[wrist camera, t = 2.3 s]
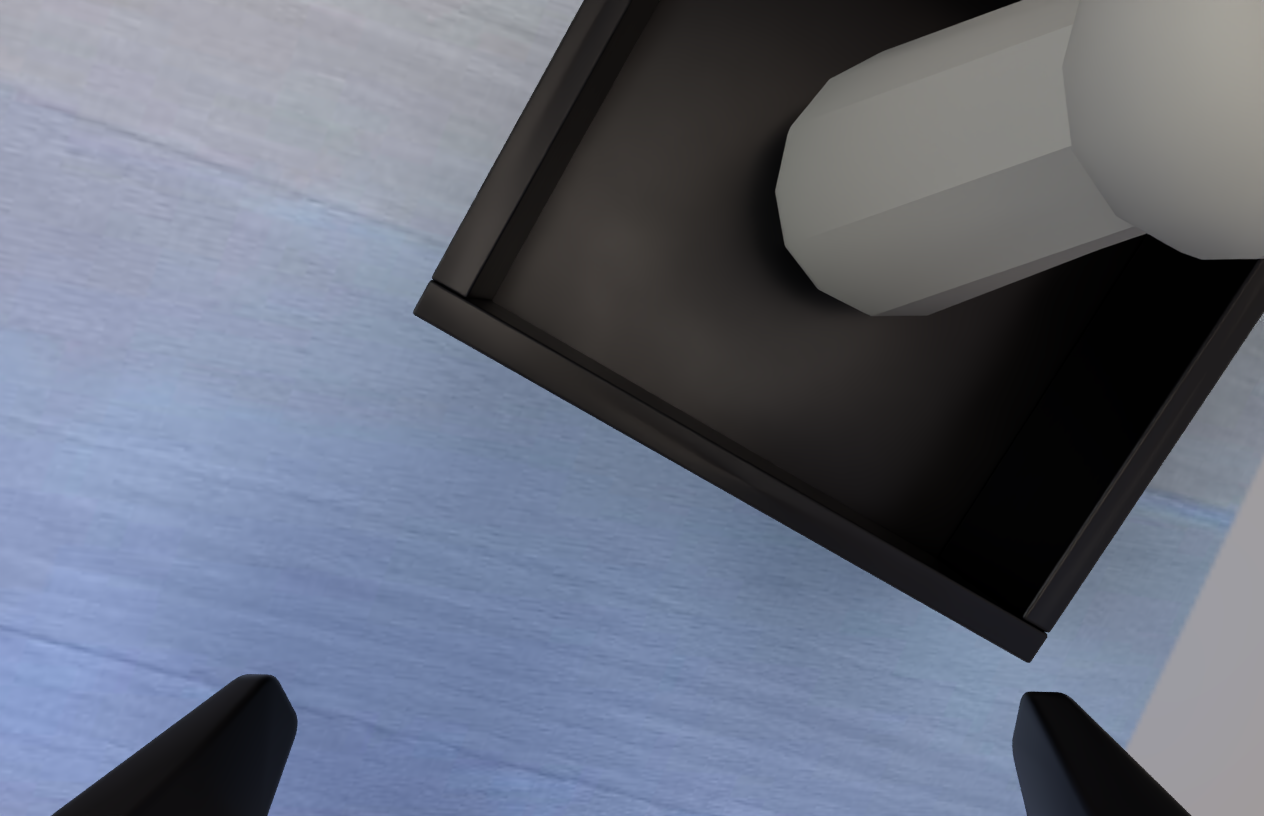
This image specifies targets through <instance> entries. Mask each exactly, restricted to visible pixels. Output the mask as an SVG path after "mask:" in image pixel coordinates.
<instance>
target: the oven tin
mask: <svg viewBox="0 0 1264 816" xmlns="http://www.w3.org/2000/svg"><path fill="white" fill-rule="evenodd" d="M1019 1H1022V0H584V1H583V3H582V5H581V6H580V8H579V10H578V12H577V14H576V16H575V17H574V19H573V21H572V23H571V25H570V26H569V28H568V30H567V32H566V34H565V36H564V37H563V39H562V41H561V43H560V45H559V46H558V48H557V50H556V52H555V54H554V56H553V57H552V59H551V61H550V63H549V65H548V67H547V68H546V70H545V72H544V74H543V76H542V77H541V79H540V81H539V83H538V85H537V87H536V88H535V90H534V92H533V94H532V96H531V97H530V99H529V101H528V103H527V105H526V107H525V108H524V110H523V112H522V114H521V116H520V117H519V119H518V121H517V123H516V125H515V127H514V128H513V130H512V132H511V134H510V136H509V137H508V139H507V141H506V143H505V145H504V147H503V148H502V150H501V152H500V154H499V156H498V157H497V159H496V161H495V163H494V165H493V167H492V168H491V170H490V172H489V174H488V176H487V178H486V179H485V181H484V183H483V185H482V187H481V188H480V190H479V192H478V194H477V196H476V198H475V199H474V201H473V203H472V205H471V207H470V208H469V210H468V212H467V214H466V216H465V218H464V219H463V221H462V223H461V225H460V227H459V228H458V230H457V232H456V234H455V236H454V238H453V239H452V241H451V243H450V245H449V247H448V248H447V250H446V252H445V254H444V256H443V258H442V259H441V261H440V263H439V265H438V267H437V268H436V270H435V272H434V274H433V276H432V279H433V280H431V281H430V282H429V283H428V285H427V287H426V289H425V291H424V292H423V294H422V296H421V298H420V300H419V301H418V303H417V305H416V307H415V309H414V311H413V314H414V315H415V316H417V317H419V318H421V319H422V320H424V321H426V322H428V323H429V324H431V325H433V326H435V327H436V328H438V329H440V330H442V331H443V332H445V333H447V334H449V335H450V336H452V337H454V338H456V339H458V340H459V341H461V342H463V343H465V344H466V345H468V346H470V347H472V348H473V349H475V350H477V351H479V352H480V353H482V354H484V355H486V356H487V357H489V358H491V359H493V360H495V361H496V362H498V363H500V364H502V365H503V366H505V367H507V368H509V369H510V370H512V371H514V372H516V373H517V374H519V375H521V376H523V377H525V378H526V379H528V380H530V381H532V382H533V383H535V384H537V385H539V386H540V387H542V388H544V389H546V390H547V391H549V392H551V393H553V394H554V395H556V396H558V397H560V398H562V399H563V400H565V401H567V402H569V403H570V404H572V405H574V406H576V407H577V408H579V409H581V410H583V411H584V412H586V413H588V414H590V415H591V416H593V417H595V418H597V419H599V420H600V421H602V422H604V423H606V424H607V425H609V426H611V427H613V428H614V429H616V430H618V431H620V432H621V433H623V434H625V435H627V436H628V437H630V438H632V439H634V440H636V441H637V442H639V443H641V444H643V445H644V446H646V447H648V448H650V449H651V450H653V451H655V452H657V453H658V454H660V455H662V456H664V457H665V458H667V459H669V460H671V461H673V462H674V463H676V464H678V465H680V466H681V467H683V468H685V469H687V470H688V471H690V472H692V473H694V474H695V475H697V476H699V477H701V478H702V479H704V480H706V481H708V482H710V483H711V484H713V485H715V486H717V487H718V488H720V489H722V490H724V491H725V492H727V493H729V494H731V495H732V496H734V497H736V498H738V499H740V500H741V501H743V502H745V503H747V504H748V505H750V506H752V507H754V508H755V509H757V510H759V511H761V512H762V513H764V514H766V515H768V516H769V517H771V518H773V519H775V520H777V521H778V522H780V523H782V524H784V525H785V526H787V527H789V528H791V529H792V530H794V531H796V532H798V533H799V534H801V535H803V536H805V537H806V538H808V539H810V540H812V541H814V542H815V543H817V544H819V545H821V546H822V547H824V548H826V549H828V550H829V551H831V552H833V553H835V554H836V555H838V556H840V557H842V558H843V559H845V560H847V561H849V562H851V563H852V564H854V565H856V566H858V567H859V568H861V569H863V570H865V571H866V572H868V573H870V574H872V575H873V576H875V577H877V578H879V579H880V580H882V581H884V582H886V583H888V584H889V585H891V586H893V587H895V588H896V589H898V590H900V591H902V592H903V593H905V594H907V595H909V596H910V597H912V598H914V599H916V600H917V601H919V602H921V603H923V604H925V605H926V606H928V607H930V608H932V609H933V610H935V611H937V612H939V613H940V614H942V615H944V616H946V617H947V618H949V619H951V620H953V621H955V622H956V623H958V624H960V625H962V626H963V627H965V628H967V629H969V630H970V631H972V632H974V633H976V634H977V635H979V636H981V637H983V638H984V639H986V640H988V641H990V642H992V643H993V644H995V645H997V646H999V647H1000V648H1002V649H1004V650H1006V651H1007V652H1009V653H1011V654H1013V655H1014V656H1016V657H1018V658H1020V659H1021V660H1023V661H1025V662H1028V663H1030V662H1031V661H1032V659H1033V658H1034V656H1035V655H1036V653H1037V652H1038V650H1039V649H1040V647H1041V646H1042V644H1043V643H1044V641H1045V640H1046V638H1047V634H1046V633H1045V632H1050V631H1051V630H1052V628H1053V627H1054V625H1055V624H1056V622H1057V621H1058V619H1059V618H1060V616H1061V615H1062V613H1063V612H1064V610H1065V609H1066V607H1067V606H1068V604H1069V603H1070V601H1071V600H1072V598H1073V597H1074V595H1075V594H1076V592H1077V591H1078V589H1079V588H1080V586H1081V585H1082V583H1083V582H1084V580H1085V579H1086V577H1087V576H1088V574H1089V573H1090V571H1091V570H1092V568H1093V567H1094V565H1095V564H1096V562H1097V561H1098V559H1099V558H1100V556H1101V555H1102V553H1103V552H1104V550H1105V549H1106V547H1107V546H1108V544H1109V543H1110V541H1111V540H1112V538H1113V537H1114V535H1115V534H1116V532H1117V531H1118V529H1119V528H1120V526H1121V525H1122V523H1123V522H1124V520H1125V519H1126V517H1127V516H1128V514H1129V513H1130V511H1131V510H1132V508H1133V507H1134V505H1135V504H1136V502H1137V501H1138V499H1139V498H1140V496H1141V495H1142V493H1143V492H1144V490H1145V489H1146V487H1147V486H1148V484H1149V483H1150V481H1151V480H1152V478H1153V477H1154V475H1155V474H1156V472H1157V471H1158V469H1159V468H1160V466H1161V465H1162V463H1163V462H1164V460H1165V459H1166V457H1167V456H1168V454H1169V453H1170V452H1171V450H1172V449H1173V447H1174V446H1175V444H1176V443H1177V441H1178V440H1179V438H1180V437H1181V435H1182V434H1183V432H1184V431H1185V429H1186V428H1187V426H1188V425H1189V423H1190V422H1191V420H1192V419H1193V417H1194V416H1195V414H1196V413H1197V411H1198V410H1199V408H1200V407H1201V405H1202V404H1203V402H1204V401H1205V399H1206V398H1207V396H1208V395H1209V393H1210V392H1211V390H1212V389H1213V387H1214V386H1215V384H1216V383H1217V381H1218V380H1219V378H1220V377H1221V375H1222V374H1223V372H1224V371H1225V369H1226V368H1227V366H1228V365H1229V363H1230V362H1231V360H1232V359H1233V357H1234V356H1235V354H1236V353H1237V351H1238V350H1239V348H1240V347H1241V345H1242V344H1243V342H1244V341H1245V339H1246V338H1247V336H1248V335H1249V333H1250V332H1251V330H1252V329H1253V327H1254V326H1255V324H1256V323H1257V321H1258V320H1259V318H1260V317H1261V315H1262V314H1263V312H1264V259H1207V260H1201V259H1198V258H1196V257H1193V256H1190V255H1187V254H1184V253H1181V252H1179V251H1178V250H1176V249H1174V248H1172V247H1170V246H1169V245H1167V244H1165V243H1163V242H1162V241H1160V240H1158V239H1156V238H1154V237H1153V236H1151V235H1149V234H1147V233H1146V234H1143V235H1140V236H1137V237H1134V238H1131V239H1128V240H1126V241H1123V242H1120V243H1117V244H1114V245H1111V246H1108V247H1105V248H1102V249H1099V250H1097V251H1094V252H1091V253H1089V254H1086V255H1084V256H1081V257H1078V258H1076V259H1073V260H1071V261H1068V262H1065V263H1063V264H1060V265H1058V266H1055V267H1052V268H1050V269H1047V270H1045V271H1042V272H1039V273H1037V274H1034V275H1032V276H1029V277H1026V278H1024V279H1021V280H1019V281H1016V282H1013V283H1011V284H1008V285H1006V286H1003V287H1000V288H998V289H995V290H993V291H990V292H987V293H985V294H982V295H979V296H977V297H974V298H972V299H969V300H966V301H964V302H961V303H959V304H956V305H953V306H951V307H948V308H946V309H943V310H940V311H938V312H935V313H933V314H930V315H927V316H870V315H868V314H866V313H863V312H861V311H859V310H858V309H856V308H854V307H852V306H850V305H848V304H846V303H844V302H842V301H840V300H838V299H836V298H834V297H832V296H830V295H828V294H826V293H824V292H822V291H820V290H818V289H817V287H816V286H815V285H814V284H813V282H812V281H811V280H810V278H809V277H808V276H807V274H806V273H805V272H804V270H803V269H802V268H801V267H800V265H799V264H798V263H797V261H796V260H795V259H794V257H793V256H792V255H791V253H790V252H789V251H788V250H787V248H786V247H785V244H784V239H783V233H782V228H781V222H780V216H779V211H778V205H777V199H776V194H775V189H776V185H777V180H778V175H779V171H780V166H781V162H782V157H783V153H784V148H785V144H786V139H787V134H788V132H789V130H790V127H791V126H792V124H793V123H794V122H795V121H796V119H797V118H798V117H799V116H800V115H801V113H802V112H803V111H804V110H805V109H806V107H807V106H808V105H809V104H810V102H811V101H812V100H813V99H814V98H815V96H816V95H817V94H818V93H819V91H820V90H821V89H822V88H823V87H824V85H825V84H826V83H827V82H828V80H829V79H831V78H833V77H835V76H837V75H839V74H840V73H842V72H844V71H846V70H848V69H850V68H852V67H854V66H856V65H858V64H860V63H861V62H863V61H865V60H867V59H869V58H871V57H873V56H875V55H877V54H879V53H881V52H882V51H885V50H888V49H891V48H893V47H896V46H899V45H902V44H904V43H907V42H910V41H913V40H915V39H918V38H921V37H923V36H926V35H929V34H932V33H934V32H937V31H940V30H943V29H945V28H948V27H951V26H953V25H956V24H959V23H962V22H964V21H967V20H970V19H973V18H975V17H978V16H981V15H983V14H986V13H989V12H992V11H994V10H997V9H1000V8H1003V7H1005V6H1008V5H1011V4H1014V3H1016V2H1019Z"/></svg>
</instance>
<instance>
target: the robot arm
mask: <svg viewBox="0 0 1264 816" xmlns="http://www.w3.org/2000/svg"><path fill="white" fill-rule="evenodd" d="M296 731H297V715H296V713H295V711H294V709H293V707H292V705H291V703H290V701H289V699H288V697H287V696H286V694H285V692H284V690H283V688H282V686H281V684H280V683H279V681H278V680H277V678H276V677H274V676H272V675H265V674H246V675H242V676H240V677H238V678H236V679H235V680H233V681H232V682H230V683H229V684H228V685H226V686H225V687H224V688H222V689H221V690H220V691H218V692H217V693H216V694H214V695H213V696H211V697H210V698H209V699H207V700H206V701H205V702H203V703H202V704H201V705H199V706H198V707H197V708H195V709H194V710H193V711H191V712H190V713H189V714H187V715H186V716H185V717H183V718H182V719H180V720H179V721H178V722H176V723H175V724H174V725H172V726H171V727H170V728H168V729H167V730H166V731H164V732H163V733H162V734H160V735H159V736H158V737H156V738H155V739H154V740H152V741H151V742H150V743H148V744H147V745H145V746H144V747H143V748H141V749H140V750H139V751H137V752H136V753H135V754H133V755H132V756H131V757H129V758H128V759H127V760H125V761H124V762H123V763H121V764H120V765H119V766H117V767H116V768H114V769H113V770H112V771H110V772H109V773H108V774H106V775H105V776H104V777H102V778H101V779H100V780H98V781H97V782H96V783H94V784H93V785H92V786H90V787H89V788H88V789H86V790H85V791H84V792H82V793H81V794H79V795H78V796H77V797H75V798H74V799H73V800H71V801H70V802H69V803H67V804H66V805H65V806H63V807H62V808H61V809H59V810H58V811H57V812H55V813H54V814H53V815H51V816H267V815H268V812H269V809H270V807H271V804H272V801H273V798H274V795H275V792H276V790H277V787H278V784H279V781H280V778H281V775H282V773H283V770H284V767H285V764H286V761H287V758H288V756H289V753H290V750H291V747H292V744H293V741H294V739H295V735H296ZM1012 748H1013V757H1014V762H1015V767H1016V771H1017V775H1018V779H1019V783H1020V787H1021V792H1022V796H1023V800H1024V804H1025V808H1026V812H1027V816H1191V815H1190V814H1189V813H1188V812H1187V811H1186V810H1185V809H1184V808H1183V807H1182V806H1181V805H1180V804H1179V803H1178V802H1177V801H1176V800H1175V799H1174V798H1173V797H1172V796H1171V795H1170V794H1169V793H1168V792H1167V791H1166V790H1165V789H1164V788H1163V787H1162V786H1161V785H1160V784H1158V782H1157V781H1155V780H1154V779H1153V778H1152V777H1151V776H1150V775H1149V774H1148V773H1147V772H1146V771H1145V770H1144V769H1143V768H1142V767H1141V766H1140V765H1139V764H1138V763H1137V762H1136V761H1135V760H1134V759H1133V758H1132V757H1131V756H1130V755H1129V754H1128V753H1127V752H1126V751H1125V750H1124V749H1123V748H1122V747H1121V746H1120V745H1119V744H1118V743H1117V742H1116V741H1115V740H1114V739H1113V738H1112V737H1111V736H1110V735H1109V734H1108V733H1107V732H1106V731H1104V730H1103V729H1102V728H1101V727H1100V726H1099V725H1098V724H1097V723H1096V722H1095V721H1094V720H1093V719H1092V718H1091V717H1090V716H1089V715H1088V714H1087V713H1086V712H1085V711H1084V710H1083V709H1082V708H1081V707H1080V706H1079V705H1078V704H1077V703H1076V702H1075V701H1074V700H1073V699H1072V698H1070V697H1069V696H1067V695H1065V694H1063V693H1059V692H1026V693H1025V694H1024V695H1023V696H1022V698H1021V701H1020V706H1019V711H1018V715H1017V720H1016V725H1015V730H1014V734H1013V740H1012Z"/></svg>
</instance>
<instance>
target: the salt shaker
mask: <svg viewBox="0 0 1264 816" xmlns="http://www.w3.org/2000/svg"><path fill="white" fill-rule="evenodd" d="M775 194H776V199H777V205H778V211H779V216H780V222H781V228H782V233H783V239H784V244H785V247H786V248H787V250H788V251H789V252H790V253H791V255H792V256H793V257H794V259H795V260H796V261H797V263H798V264H799V265H800V267H801V268H802V269H803V270H804V272H805V273H806V274H807V276H808V277H809V278H810V280H811V281H812V282H813V284H814V285H815V286H816V287H817V289H818V290H820V291H822V292H824V293H826V294H828V295H830V296H832V297H834V298H836V299H838V300H840V301H842V302H844V303H846V304H848V305H850V306H852V307H854V308H856V309H858V310H859V311H861V312H863V313H866V314H868V315H870V316H927V315H930V314H933V313H935V312H938V311H940V310H943V309H946V308H948V307H951V306H953V305H956V304H959V303H961V302H964V301H966V300H969V299H972V298H974V297H977V296H979V295H982V294H985V293H987V292H990V291H993V290H995V289H998V288H1000V287H1003V286H1006V285H1008V284H1011V283H1013V282H1016V281H1019V280H1021V279H1024V278H1026V277H1029V276H1032V275H1034V274H1037V273H1039V272H1042V271H1045V270H1047V269H1050V268H1052V267H1055V266H1058V265H1060V264H1063V263H1065V262H1068V261H1071V260H1073V259H1076V258H1078V257H1081V256H1084V255H1086V254H1089V253H1091V252H1094V251H1097V250H1099V249H1102V248H1105V247H1108V246H1111V245H1114V244H1117V243H1120V242H1123V241H1126V240H1128V239H1131V238H1134V237H1137V236H1140V235H1143V234H1146V233H1147V234H1149V235H1151V236H1153V237H1154V238H1156V239H1158V240H1160V241H1162V242H1163V243H1165V244H1167V245H1169V246H1170V247H1172V248H1174V249H1176V250H1178V251H1179V252H1181V253H1184V254H1187V255H1190V256H1193V257H1196V258H1198V259H1201V260H1207V259H1264V0H1022V1H1019V2H1016V3H1014V4H1011V5H1008V6H1005V7H1003V8H1000V9H997V10H994V11H992V12H989V13H986V14H983V15H981V16H978V17H975V18H973V19H970V20H967V21H964V22H962V23H959V24H956V25H953V26H951V27H948V28H945V29H943V30H940V31H937V32H934V33H932V34H929V35H926V36H923V37H921V38H918V39H915V40H913V41H910V42H907V43H904V44H902V45H899V46H896V47H893V48H891V49H888V50H885V51H882V52H881V53H879V54H877V55H875V56H873V57H871V58H869V59H867V60H865V61H863V62H861V63H860V64H858V65H856V66H854V67H852V68H850V69H848V70H846V71H844V72H842V73H840V74H839V75H837V76H835V77H833V78H831V79H829V80H828V82H827V83H826V84H825V85H824V87H823V88H822V89H821V90H820V91H819V93H818V94H817V95H816V96H815V98H814V99H813V100H812V101H811V102H810V104H809V105H808V106H807V107H806V109H805V110H804V111H803V112H802V113H801V115H800V116H799V117H798V118H797V119H796V121H795V122H794V123H793V124H792V126H791V127H790V130H789V132H788V134H787V139H786V144H785V148H784V153H783V157H782V162H781V166H780V171H779V175H778V180H777V185H776V189H775Z"/></svg>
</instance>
